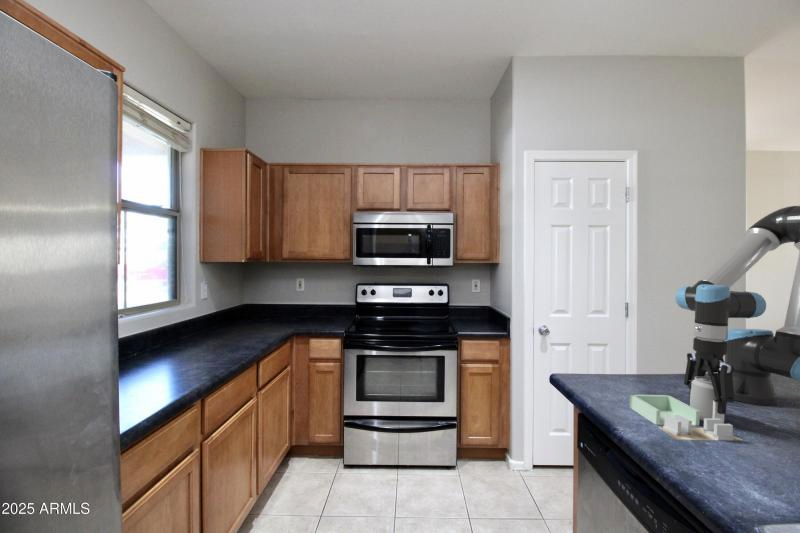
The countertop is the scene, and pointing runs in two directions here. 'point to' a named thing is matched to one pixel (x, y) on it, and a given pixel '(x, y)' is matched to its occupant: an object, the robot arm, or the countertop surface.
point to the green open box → (662, 408)
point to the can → (703, 396)
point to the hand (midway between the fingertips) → (706, 417)
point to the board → (696, 435)
